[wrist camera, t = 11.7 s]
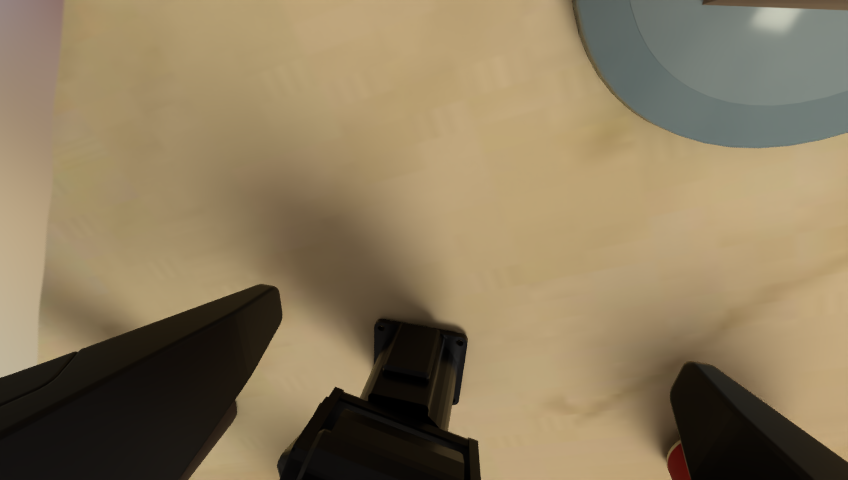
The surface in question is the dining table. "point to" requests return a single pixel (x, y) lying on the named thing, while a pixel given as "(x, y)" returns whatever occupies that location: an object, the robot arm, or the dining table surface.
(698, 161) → the dining table surface
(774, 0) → the walnut block
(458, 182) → the dining table surface
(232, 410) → the bottle
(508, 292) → the dining table surface
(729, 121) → the dish
